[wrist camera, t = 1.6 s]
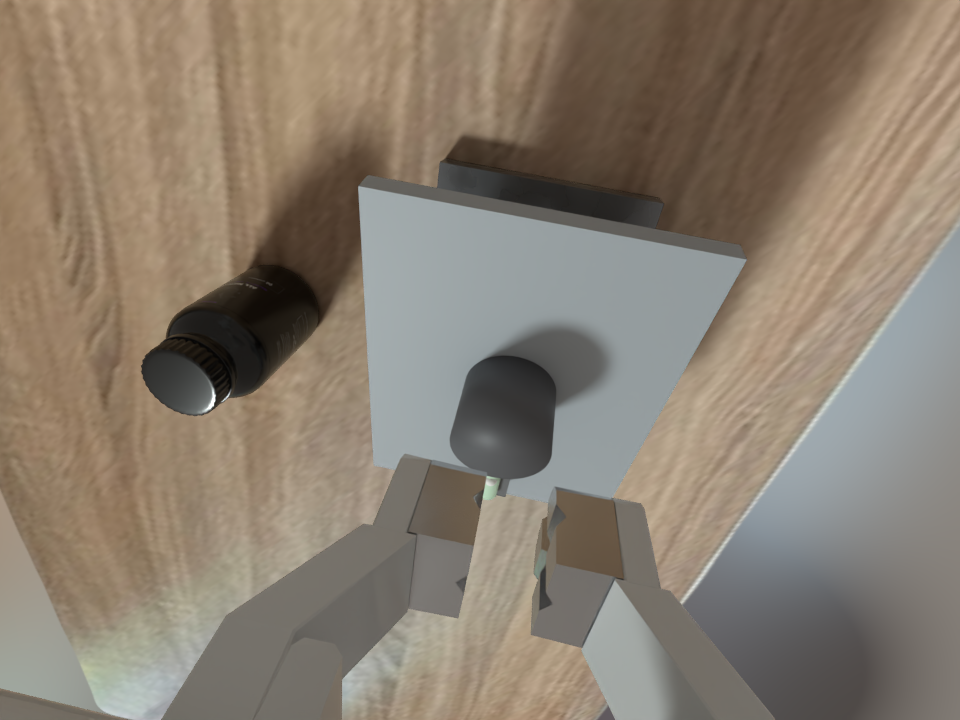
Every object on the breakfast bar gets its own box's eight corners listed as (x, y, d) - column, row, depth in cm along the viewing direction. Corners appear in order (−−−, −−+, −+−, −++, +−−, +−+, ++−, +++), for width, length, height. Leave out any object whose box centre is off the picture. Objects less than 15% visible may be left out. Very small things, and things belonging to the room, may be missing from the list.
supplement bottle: (274, 244, 36) (161, 309, 26) (338, 312, 39) (258, 398, 28) (222, 294, 39) (103, 370, 29) (286, 355, 41) (195, 447, 31)
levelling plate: (372, 169, 21) (318, 231, 17) (737, 237, 21) (774, 320, 16) (382, 444, 35) (352, 517, 31) (602, 491, 34) (603, 572, 30)
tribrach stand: (444, 158, 32) (408, 184, 24) (659, 198, 31) (691, 237, 23) (421, 385, 41) (388, 456, 33) (586, 419, 40) (592, 499, 33)
